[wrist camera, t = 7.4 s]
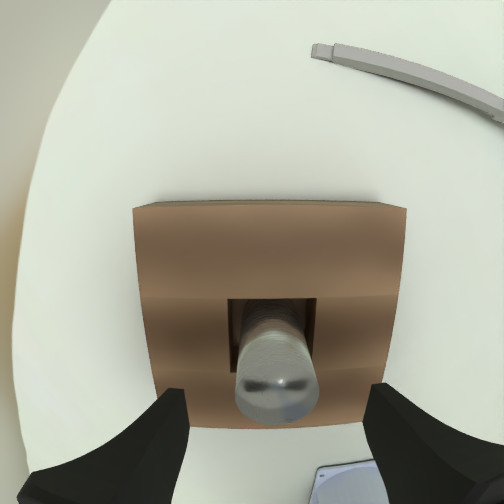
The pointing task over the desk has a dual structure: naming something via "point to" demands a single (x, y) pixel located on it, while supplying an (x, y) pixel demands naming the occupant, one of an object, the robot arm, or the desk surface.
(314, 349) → the block
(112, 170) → the desk surface
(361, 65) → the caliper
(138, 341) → the desk surface
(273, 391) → the pin
